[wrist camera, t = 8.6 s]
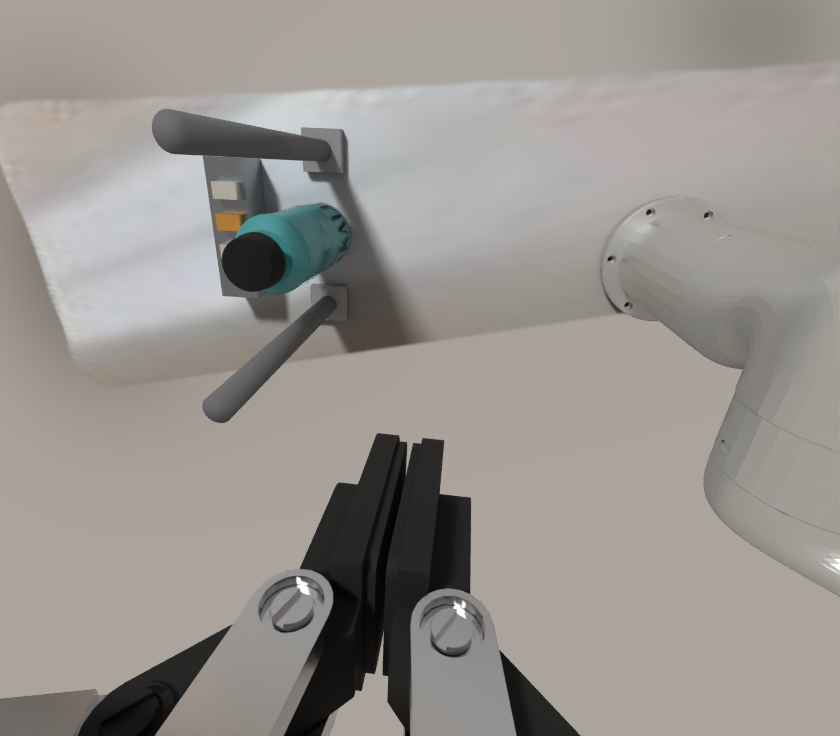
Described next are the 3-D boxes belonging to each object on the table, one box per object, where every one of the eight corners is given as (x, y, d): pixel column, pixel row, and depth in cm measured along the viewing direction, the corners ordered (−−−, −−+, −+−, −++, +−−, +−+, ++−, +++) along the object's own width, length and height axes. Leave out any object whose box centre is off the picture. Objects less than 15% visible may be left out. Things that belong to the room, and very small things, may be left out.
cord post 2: (346, 286, 52) (243, 384, 28) (347, 319, 53) (250, 438, 30) (313, 283, 52) (182, 379, 28) (315, 316, 54) (193, 432, 30)
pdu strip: (259, 158, 47) (236, 157, 42) (272, 289, 53) (252, 301, 48) (223, 157, 47) (196, 155, 42) (239, 287, 53) (217, 298, 48)
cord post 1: (342, 129, 45) (203, 86, 21) (344, 173, 47) (215, 177, 23) (304, 128, 45) (124, 83, 22) (306, 171, 47) (142, 173, 23)
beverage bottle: (293, 249, 51) (194, 295, 32) (306, 190, 48) (206, 203, 30) (348, 269, 51) (280, 325, 33) (363, 211, 48) (299, 237, 30)
